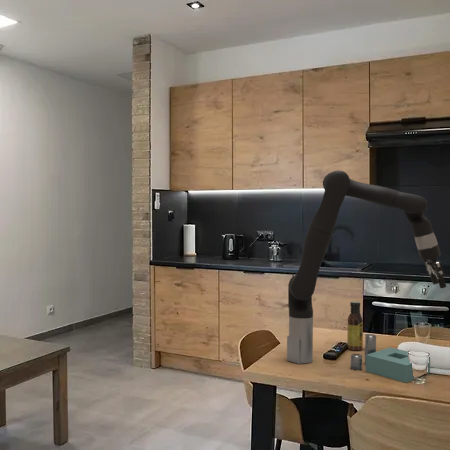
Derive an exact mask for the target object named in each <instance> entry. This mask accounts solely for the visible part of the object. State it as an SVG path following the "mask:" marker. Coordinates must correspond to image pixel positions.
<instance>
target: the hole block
mask: <svg viewBox="0 0 450 450" xmlns="http://www.w3.org/2000/svg"><path fill="white" fill-rule="evenodd" d="M408 352H409V351H408V350H404V349H399V348H394V347H386V348H383V349H380V350H378V351H377V350H376V352H374V353H370V354H367V355H366V364H365V372H367V373H371V374H374V375H377V376H380V377H384V378H388V379H392V380H394V381H397V382H398V381H399V382H402V383H405V384H407V383H410V382H412V381H414V376H413V370H412V363H410V362H409V359H408V354H407V353H408ZM430 369H431V356H429V363H428V372H427V375H429V374H430V372H431V370H430Z"/></svg>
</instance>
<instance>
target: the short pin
mask: <svg viewBox="0 0 450 450" xmlns="http://www.w3.org/2000/svg"><path fill="white" fill-rule="evenodd" d="M350 369H351V370H352V369H353V371H357V370H359V371H362V369H363V355H362V354H359V353H352V354H350Z"/></svg>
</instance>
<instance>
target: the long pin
mask: <svg viewBox="0 0 450 450" xmlns="http://www.w3.org/2000/svg"><path fill="white" fill-rule="evenodd" d="M364 337H365V338H364V365H366V355H367V354H370V353H374V352H377V335H376V334H373V333H366V334H365V336H364Z"/></svg>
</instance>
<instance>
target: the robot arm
mask: <svg viewBox="0 0 450 450" xmlns="http://www.w3.org/2000/svg"><path fill="white" fill-rule="evenodd" d="M322 186H323V189H324V193H323V196H322V200H321V202H320V205H319V207H318V208H317V210H316V212H315V214H314V216H313V218H312V220H311V222H310V224H309V227H308V229H307V233H306V235H305V239H304V244H303V251H302V259H301V263H300V266H299V268H298V271H297V273H296V274H294V275H293V276H292V277H291V278H290V279H289V280H288V286H287V288H288V289H287V290H288V292H287V295H288V296H287V297H288V298H287V299H288V302H287V303H288V304H287V305H288V336H287V337H286V361H288V362H291V363H294V364H297V365H301V364H309V363H312V362H313V355H314V353H313V350H314V347H313V346H314V345H313V344H314V331H313V330H314V309H313V295H314V293H315V291H316V285H317V281H318V275H319V273H320V268H321V265H322V263H323V261H324V258H325V256H326V253H327V251H328V248H329V245H330V243H331V240H332V237H333V234H334V231H335V228H336V223H337V220H338V216H339V213H340V209H341V206H342V204H343V203H344V200H345V197H349V198H350V197H351V198H355V199H360V200H363V201H366V202H369V203H374V204H376V205H380V206H383V207H387V208H389V209H390V208H391V209H397V210H401V211H404V214H405V216H406V219H407V220H408V222H409V224H410V225H411V230H412V233H413V236H414V241H415V245H416V248H417V252H418V255H419V258H420V260H422V261H424V265H425V268H426V272H427V274H428V275H429V276H430V279H431V282H432V284H433V285H439V288H440V289H444V288H447V284H446V280H445V277H446V273H445V270H444V267H443V264H442V261H440V260H438V257H440V256H441V254H442V253H441V249H440V247H439V243H438V240H437V237H436V234H435V233H434V232H435V231H434V230H433V227H432V223H431V220H430V219H429V218H427V217H426V215H425V212H426V211H427V209H428V201H427V199H426V198H425V197H424V196H421V195H417V194H413V193H408V192H402V191H399V190H397V189H392V188H390V187H386V186H381V185H376V184H369V183H366V182H365V183H364V182H360V181H356V180H354V179H351V178H350V176H349V175H348V173H347V172H345V171H344V170H334V171H331V172H329V173H328V174H326V175H325V176H324V178H323V180H322Z"/></svg>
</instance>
